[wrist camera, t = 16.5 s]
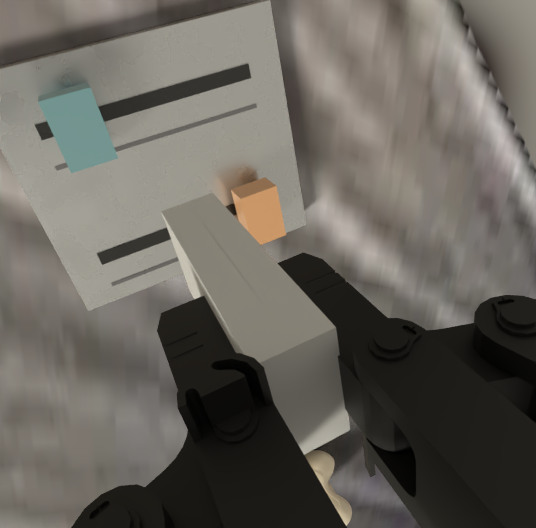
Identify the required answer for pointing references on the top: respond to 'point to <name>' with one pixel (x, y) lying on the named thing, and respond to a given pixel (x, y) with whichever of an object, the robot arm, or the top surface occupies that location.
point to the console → (152, 141)
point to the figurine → (323, 470)
